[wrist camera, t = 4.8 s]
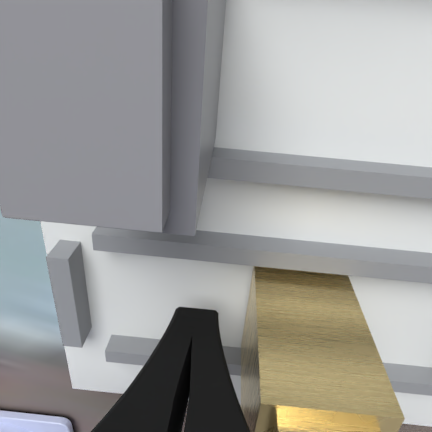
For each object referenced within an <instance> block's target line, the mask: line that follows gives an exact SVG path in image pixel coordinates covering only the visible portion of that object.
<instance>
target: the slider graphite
mask: <svg viewBox="0 0 432 432" xmlns="http://www.w3.org/2000/svg"><path fill="white" fill-rule="evenodd" d="M225 9H226V0H0V208H1V212H2V216H3V217H5V218H14V219H24V220H34V221H44V222H55V223H65V224H75V225H85V226H96V227H106V228H116V229H126V230H136V231H147V232H157V233H167V234H177V235H188V236H195V234H196V229H197V224H198V220H199V215H200V210H201V205H202V201H203V196H204V191H205V186H206V182H207V177H208V172H209V167H210V163H211V158H212V153H213V148H214V144H215V139H216V128H217V114H218V101H219V88H220V75H221V62H222V49H223V36H224V22H225Z"/></svg>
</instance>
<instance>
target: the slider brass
mask: <svg viewBox="0 0 432 432" xmlns="http://www.w3.org/2000/svg"><path fill="white" fill-rule="evenodd" d="M241 409H242V412H243V414H244V417H245V419H246V422H247V424H248V427H249V429H250V432H398V430H399V428H400V427H401V425H402V423H403V421H404V420H405V418H404V415H403V413H402V410H401V408H400V405H399V403H398V400H397V398H396V395H395V393H394V390H393V388H392V385H391V383H390V380H389V378H388V375H387V372H386V370H385V367H384V365H383V362H382V360H381V357H380V355H379V352H378V350H377V347H376V345H375V342H374V340H373V337H372V335H371V332H370V330H369V327H368V325H367V322H366V320H365V317H364V315H363V312H362V310H361V307H360V304H359V302H358V299H357V297H356V294H355V292H354V289H353V287H352V284H351V282H350V279H349V277H348V275H339V274H328V273H318V272H308V271H298V270H288V269H278V268H268V267H258V266H253V272H252V278H251V285H250V291H249V297H248V304H247V310H246V316H245V323H244V329H243V335H242V342H241Z"/></svg>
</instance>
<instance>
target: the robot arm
mask: <svg viewBox="0 0 432 432" xmlns="http://www.w3.org/2000/svg"><path fill="white" fill-rule="evenodd" d="M218 314H219V313H218V312H217V311H216V310H209V309H199V308H189V307H178V308H176V310H175V312H174V315H173V317H172V319H171V321H170V323H169V325H168V327H167V329H166V331H165V333H164V334H163V336H162V338H161V340H160V341H159V343H158V345H157V346H156V348H155V349H154V351H153V352H152V354H151V356H150V357H149V359H148V360H147V362H146V363H145V365H144V366H143V368H142V369H141V370H140V372H139V373H138V375H137V376H136V377H135V379H134V380H133V382H132V383H131V384H130V386H129V387H128V388H127V390H126V391H125V392H124V394H123V395H122V396H121V397H120V399H119V400H118V401H117V402H116V404H115V405H114V406H113V407H112V408H111V410H110V411H109V412H108V413H107V414H106V416H105V417H104V418H103V419H102V420H101V421H100V422H99V423H98V425H97V426H96V427H95V428H94V429H93V430H92V431H91V432H181V430H182V426H183V421H184V417H185V412H186V408H187V403H188V399H189V403H188V410H187V417H186V423H185V430H184V432H250V429H249V427H248V424H247V422H246V419H245V417H244V414H243V412H242V409H241V407H240V404H239V401H238V398H237V395H236V392H235V389H234V387H233V383H232V380H231V377H230V374H229V370H228V366H227V363H226V359H225V355H224V351H223V347H222V342H221V337H220V330H219V320H218ZM0 432H73V428H72V424H71V422H70V420H69V419H67V418H65V417H59V416H49V415H40V414H31V413H22V412H12V411H3V410H0Z"/></svg>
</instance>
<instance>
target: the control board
mask: <svg viewBox="0 0 432 432" xmlns="http://www.w3.org/2000/svg"><path fill="white" fill-rule="evenodd" d="M40 222H41V227H42V232H43V237H44V242H45V248H46V253H47V256H46V261H47V266H48V271H49V276H50V281H51V286H52V292H53V297H54V302H55V307H56V312H57V317H58V322H59V327H60V333H61V338H62V343H63V346H65V351H66V357H67V362H68V367H69V372H70V377H71V382H72V388H74V389H83V390H92V391H102V392H111V393H121V394H124V392H125V391H126V390H127V388H128V387H129V386H130V384H131V383H132V382H133V380H134V379H135V377H136V376H137V375H138V373H139V372H140V370H141V369H142V368H143V366H144V365H145V363H146V362H147V360H148V359H149V357H150V356H151V354H152V352H153V351H154V349H155V348H156V346H157V345H158V343H159V341H160V340H161V338H162V336H163V334H164V333H165V331H166V329H167V327H168V325H169V323H170V321H171V319H172V317H173V315H174V312H175V310H176V308H178V307H189V308H199V309H209V310H216V311H217V312H218V313H219V314H218V320H219V330H220V337H221V342H222V347H223V351H224V355H225V359H226V363H227V366H228V370H229V374H230V377H231V380H232V383H233V387H234V389H235V392H236V395H237V398H238V401H239V404H240V406H241V342H242V335H243V329H244V323H245V316H246V310H247V304H248V297H249V291H250V285H251V278H252V272H253V266H258V267H268V268H278V269H288V270H298V271H308V272H318V273H328V274H339V275H348V277H349V279H350V282H351V284H352V287H353V289H354V292H355V294H356V297H357V299H358V302H359V304H360V307H361V310H362V312H363V315H364V317H365V320H366V322H367V325H368V327H369V330H370V332H371V335H372V337H373V340H374V342H375V345H376V347H377V350H378V352H379V355H380V357H381V360H382V362H383V365H384V367H385V370H386V372H387V375H388V378H389V380H390V383H391V385H392V388H393V390H394V393H395V395H396V398H397V400H398V403H399V405H400V408H401V410H402V413H403V415H404V418H405V420H404V421H403V424H412V425H422V426H431V427H432V0H226V9H225V22H224V36H223V49H222V62H221V75H220V88H219V101H218V114H217V128H216V139H215V144H214V148H213V153H212V158H211V163H210V167H209V172H208V177H207V182H206V186H205V191H204V196H203V201H202V205H201V210H200V215H199V220H198V224H197V229H196V234H195V236H188V235H177V234H167V233H157V232H147V231H136V230H126V229H116V228H106V227H96V226H85V225H75V224H65V223H55V222H44V221H40ZM188 401H189V399H188Z"/></svg>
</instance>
